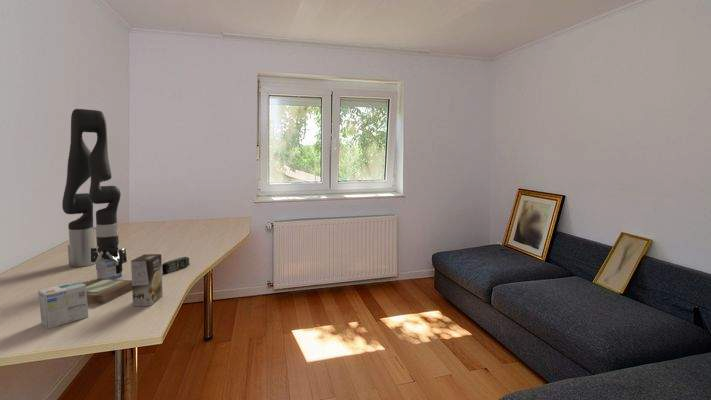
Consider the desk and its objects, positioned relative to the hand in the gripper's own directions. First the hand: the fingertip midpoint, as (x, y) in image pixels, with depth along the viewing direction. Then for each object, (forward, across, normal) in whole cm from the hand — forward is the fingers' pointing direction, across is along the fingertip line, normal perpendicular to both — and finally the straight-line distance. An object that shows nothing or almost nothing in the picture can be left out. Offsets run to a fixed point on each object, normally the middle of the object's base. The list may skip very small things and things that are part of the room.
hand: (109, 272), depth 152 cm
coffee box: (+3, +31, -19) cm, 36 cm away
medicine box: (+3, 0, 0) cm, 3 cm away
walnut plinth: (+3, +10, -16) cm, 19 cm away
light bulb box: (+3, +16, -37) cm, 40 cm away
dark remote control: (+3, +19, +17) cm, 26 cm away
